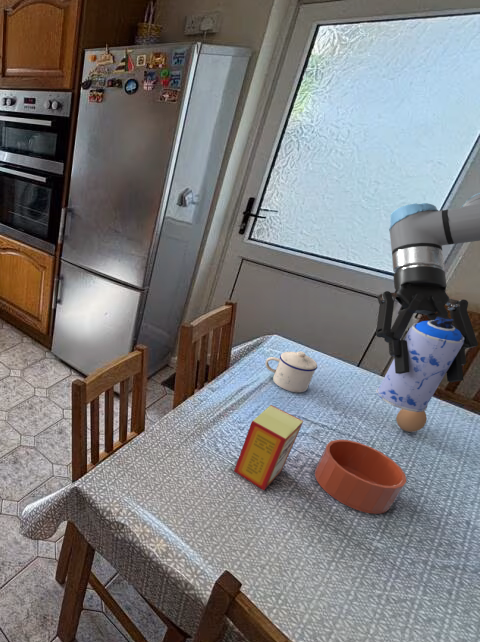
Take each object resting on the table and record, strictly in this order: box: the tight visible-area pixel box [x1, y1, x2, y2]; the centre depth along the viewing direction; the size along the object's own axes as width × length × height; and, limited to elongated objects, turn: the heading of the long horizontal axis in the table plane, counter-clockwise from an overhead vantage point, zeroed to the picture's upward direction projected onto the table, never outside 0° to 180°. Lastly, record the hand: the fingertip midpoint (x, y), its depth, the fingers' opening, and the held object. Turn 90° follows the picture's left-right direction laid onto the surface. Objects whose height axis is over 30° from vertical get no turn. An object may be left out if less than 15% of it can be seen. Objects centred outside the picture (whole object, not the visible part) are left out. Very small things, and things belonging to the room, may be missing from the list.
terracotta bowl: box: [314, 439, 407, 515], centre depth 92 cm, size 13×13×8 cm
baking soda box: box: [233, 404, 304, 491], centre depth 95 cm, size 10×6×16 cm
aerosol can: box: [375, 316, 464, 412], centre depth 84 cm, size 8×8×20 cm
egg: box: [395, 409, 428, 433], centre depth 108 cm, size 5×5×8 cm
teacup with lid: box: [264, 350, 318, 394], centre depth 126 cm, size 12×9×12 cm
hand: (428, 376), depth 82 cm, fingers closed on aerosol can, 7 cm apart
